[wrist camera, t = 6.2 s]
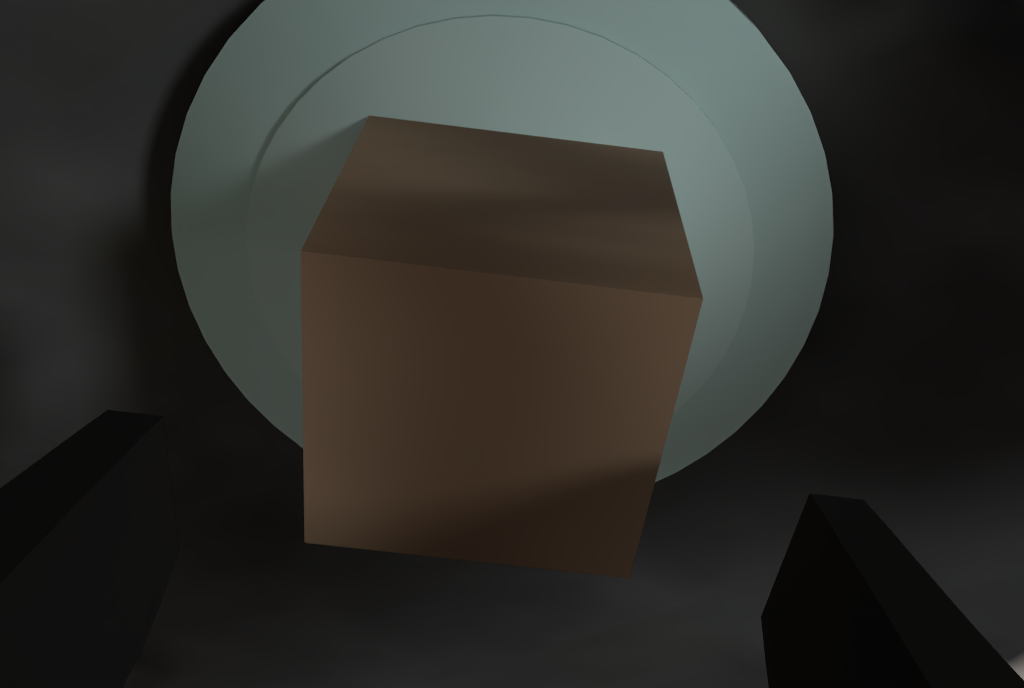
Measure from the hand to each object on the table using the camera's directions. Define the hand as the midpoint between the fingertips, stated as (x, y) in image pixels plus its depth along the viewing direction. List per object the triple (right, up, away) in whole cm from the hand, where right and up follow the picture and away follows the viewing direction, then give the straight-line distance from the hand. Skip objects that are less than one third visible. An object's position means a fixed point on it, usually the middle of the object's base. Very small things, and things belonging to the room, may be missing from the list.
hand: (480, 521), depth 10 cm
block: (0, +3, +5) cm, 6 cm away
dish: (0, +4, +6) cm, 7 cm away
